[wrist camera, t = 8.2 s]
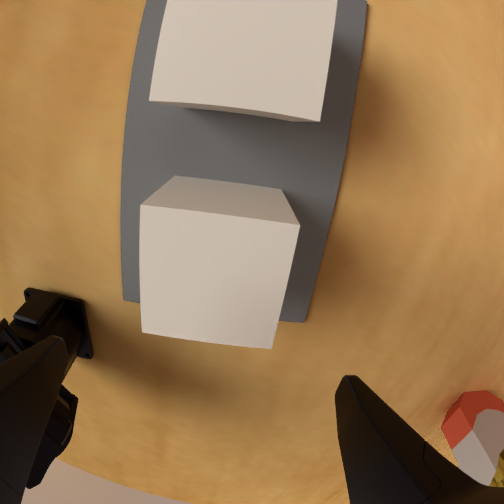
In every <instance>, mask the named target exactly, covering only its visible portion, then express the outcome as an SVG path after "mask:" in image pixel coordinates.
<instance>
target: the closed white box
mask: <svg viewBox="0 0 504 504" xmlns="http://www.w3.org/2000/svg"><path fill="white" fill-rule="evenodd" d="M337 1H338V0H167V4H166V8H165V12H164V17H163V21H162V26H161V31H160V36H159V41H158V46H157V51H156V57H155V63H154V69H153V75H152V82H151V88H150V96H149V101H152V102H157V103H162V104H167V105H172V106H177V107H181V108H192V109H204V110H215V111H224V112H232V113H241V114H248V115H255V116H262V117H268V118H275V119H281V120H286V121H292V122H320V118H321V112H322V106H323V100H324V93H325V87H326V81H327V74H328V68H329V61H330V54H331V47H332V40H333V32H334V25H335V17H336V9H337Z"/></svg>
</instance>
